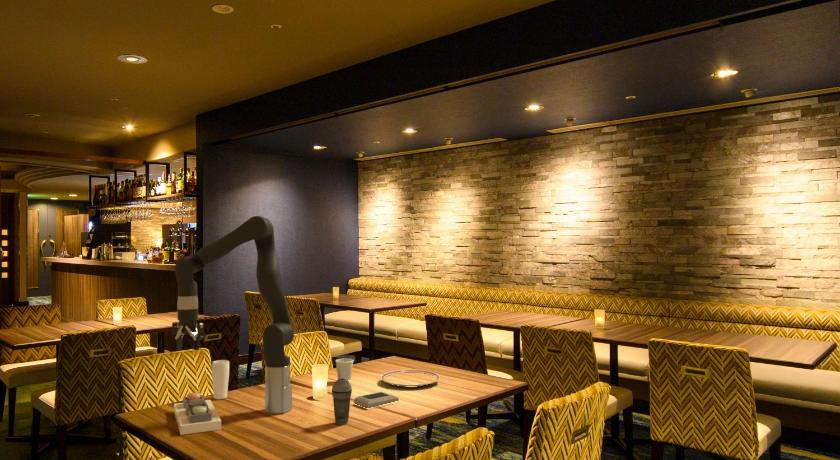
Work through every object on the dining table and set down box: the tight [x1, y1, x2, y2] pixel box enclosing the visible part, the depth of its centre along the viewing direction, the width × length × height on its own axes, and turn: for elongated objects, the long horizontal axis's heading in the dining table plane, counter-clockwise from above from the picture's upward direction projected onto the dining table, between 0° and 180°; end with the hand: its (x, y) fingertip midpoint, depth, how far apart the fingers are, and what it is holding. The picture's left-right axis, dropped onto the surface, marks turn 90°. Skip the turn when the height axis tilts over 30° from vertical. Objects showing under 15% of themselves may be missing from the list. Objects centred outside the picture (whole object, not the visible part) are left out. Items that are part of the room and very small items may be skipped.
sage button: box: [193, 406, 207, 415], centre depth 203 cm, size 5×5×2 cm
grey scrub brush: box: [353, 391, 399, 408], centre depth 234 cm, size 10×4×15 cm
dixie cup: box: [335, 358, 355, 380], centre depth 270 cm, size 8×8×10 cm
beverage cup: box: [331, 366, 353, 425], centre depth 209 cm, size 7×7×20 cm
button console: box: [173, 394, 222, 436], centre depth 212 cm, size 30×13×6 cm, turn 26°
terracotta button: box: [186, 392, 201, 401], centre depth 221 cm, size 5×5×2 cm
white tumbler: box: [211, 359, 230, 400], centre depth 242 cm, size 7×7×15 cm
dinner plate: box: [380, 369, 441, 386], centre depth 269 cm, size 27×27×3 cm
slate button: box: [190, 399, 203, 408], centre depth 212 cm, size 5×5×2 cm
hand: (187, 349), depth 228 cm, fingers open, 8 cm apart
